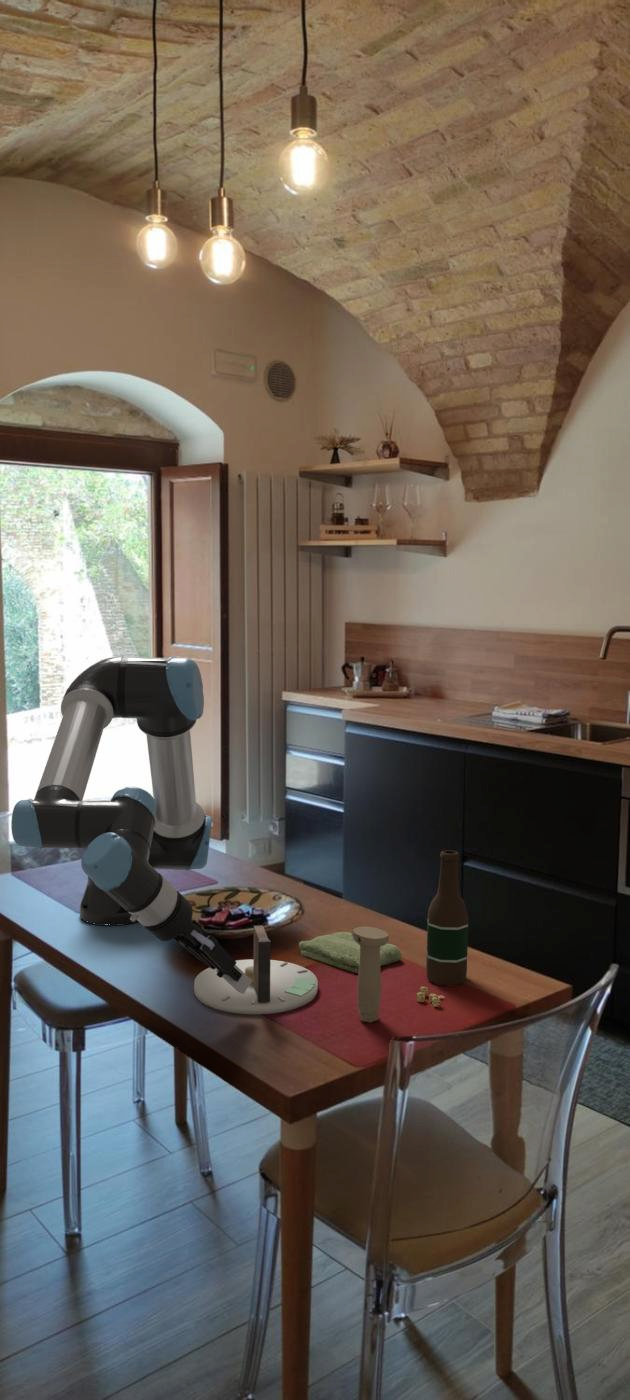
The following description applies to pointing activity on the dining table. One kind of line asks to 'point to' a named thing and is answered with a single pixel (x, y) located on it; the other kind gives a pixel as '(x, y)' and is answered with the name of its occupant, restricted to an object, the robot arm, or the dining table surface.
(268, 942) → the wooden panel and knob
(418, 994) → the dice set
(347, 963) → the washcloth
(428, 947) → the beer bottle
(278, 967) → the dial
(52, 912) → the dining table surface
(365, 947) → the handle
